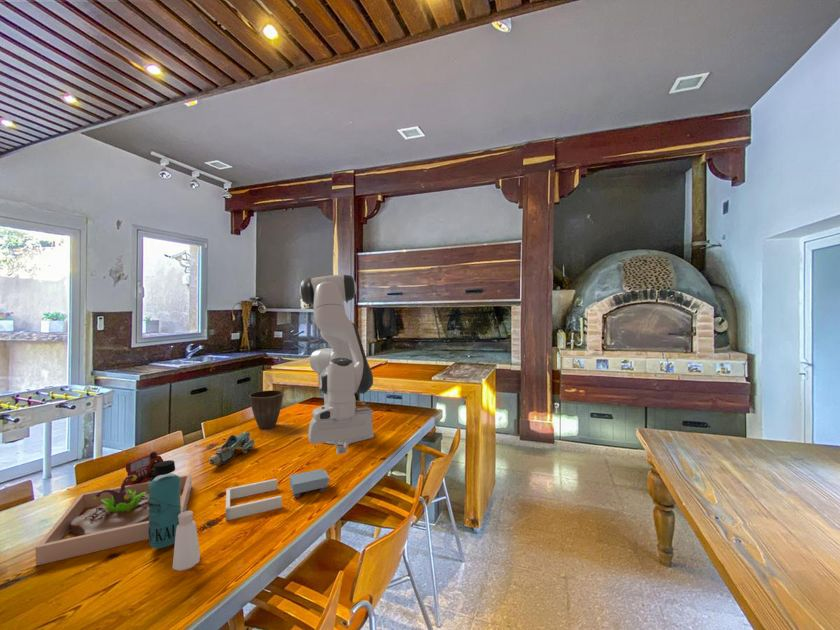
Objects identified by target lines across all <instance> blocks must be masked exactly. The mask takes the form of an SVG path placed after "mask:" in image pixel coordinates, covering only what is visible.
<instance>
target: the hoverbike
mask: <svg viewBox="0 0 840 630" xmlns="http://www.w3.org/2000/svg"><path fill="white" fill-rule="evenodd" d="M222 440H223V441H226V442H225V443H224V444H221V446H218V447H216V449H215V453H213V454H212V455H211V456H210V457H209V459H208V463H209V464H210V465H211V466H217V465H219V464H226V463H228V462H229V461H230V460H231V459H232V458H234V454H235V453H236V452H237V451H238V450H237V449H239V450H242V453H243V454H246V453H247V452H248V451H250V450H253V446H255V445H256V444H255V440H254V439H253V438H252V439H251V433H250V432H247V431H246V430H244V432H242V433H240V434H238V435H234V434H231V435H230V436H229V437H228V439H227V438H222ZM217 448H218V449H217Z"/></svg>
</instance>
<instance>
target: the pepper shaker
mask: <svg viewBox="0 0 840 630" xmlns="http://www.w3.org/2000/svg"><path fill="white" fill-rule="evenodd" d="M178 518H179V525H177V528H176V536H175V543H174V548H173V558H172V559H173V560H172V570H175V571H178V572H182V571H185V570H189V569H191V568H193V567H194V566H196V565H197V564H199V562H200V558H201V554H200V553H201V552H200V545H199V539H198V532H197V525H196V521H195V520H193V518H194V511H192V510H186V511H185V512H182V513H180V514H179V515H178Z"/></svg>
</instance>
